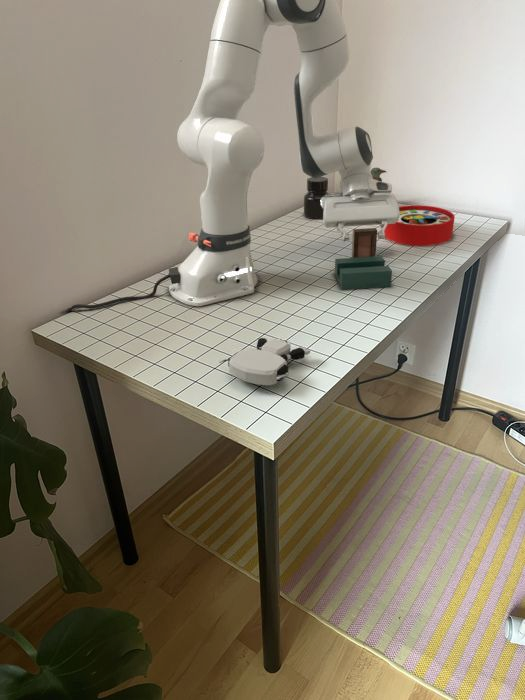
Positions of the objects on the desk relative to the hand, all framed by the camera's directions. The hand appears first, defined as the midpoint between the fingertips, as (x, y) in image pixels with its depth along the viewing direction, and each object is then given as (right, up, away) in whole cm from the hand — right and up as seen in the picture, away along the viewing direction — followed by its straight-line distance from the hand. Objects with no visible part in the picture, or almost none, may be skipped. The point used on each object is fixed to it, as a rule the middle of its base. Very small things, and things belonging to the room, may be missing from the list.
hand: (363, 239), depth 146 cm
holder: (-2, -12, -8) cm, 14 cm away
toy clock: (+20, +5, +20) cm, 28 cm away
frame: (0, -6, +2) cm, 6 cm away
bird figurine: (+10, +18, +42) cm, 46 cm away
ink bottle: (-8, +16, +40) cm, 43 cm away
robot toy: (-26, -33, -42) cm, 59 cm away
